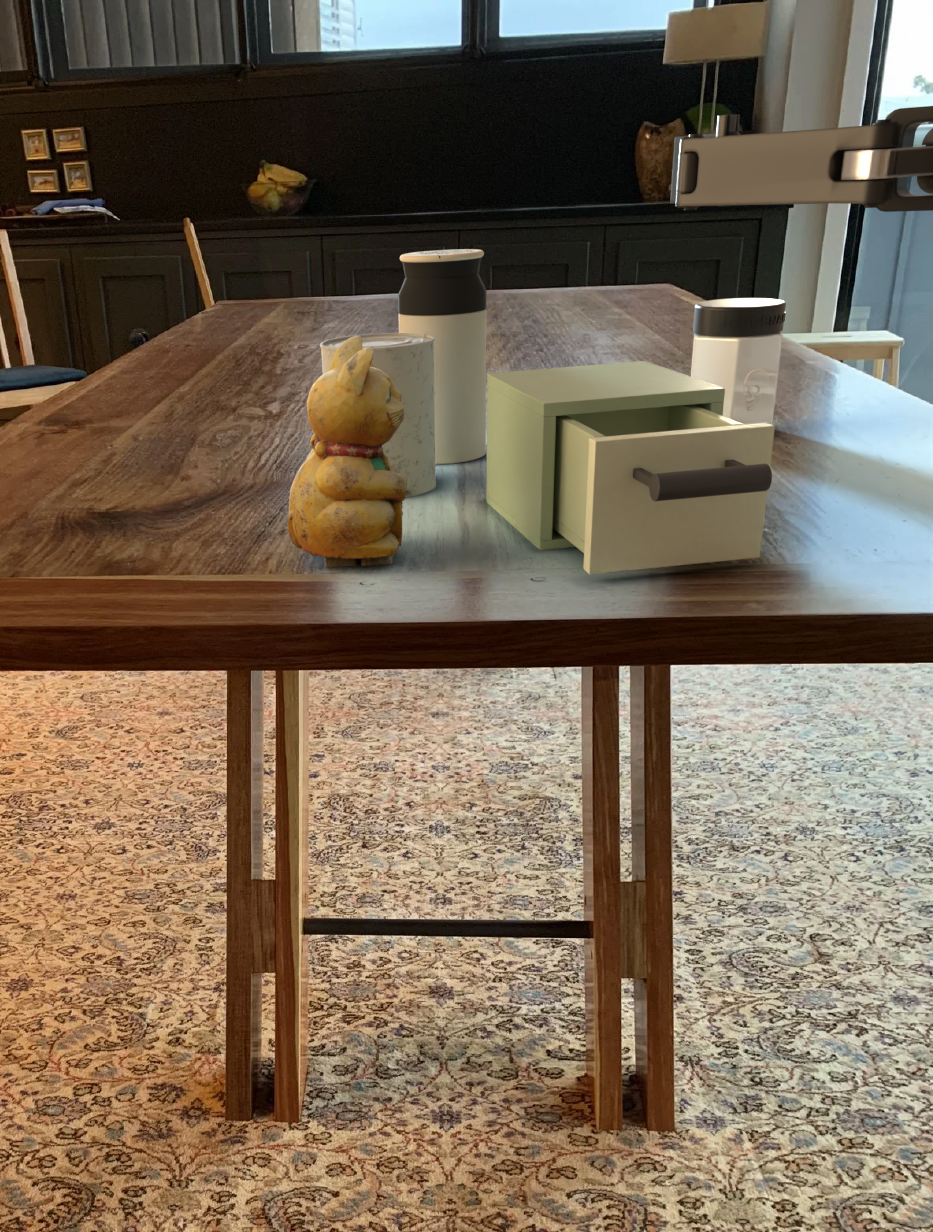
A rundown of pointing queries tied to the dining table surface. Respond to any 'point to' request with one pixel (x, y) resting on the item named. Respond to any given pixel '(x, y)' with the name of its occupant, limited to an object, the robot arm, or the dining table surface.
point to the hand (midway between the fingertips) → (818, 161)
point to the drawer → (660, 487)
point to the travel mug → (451, 344)
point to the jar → (740, 353)
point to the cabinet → (529, 427)
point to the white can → (405, 401)
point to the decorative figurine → (350, 465)
